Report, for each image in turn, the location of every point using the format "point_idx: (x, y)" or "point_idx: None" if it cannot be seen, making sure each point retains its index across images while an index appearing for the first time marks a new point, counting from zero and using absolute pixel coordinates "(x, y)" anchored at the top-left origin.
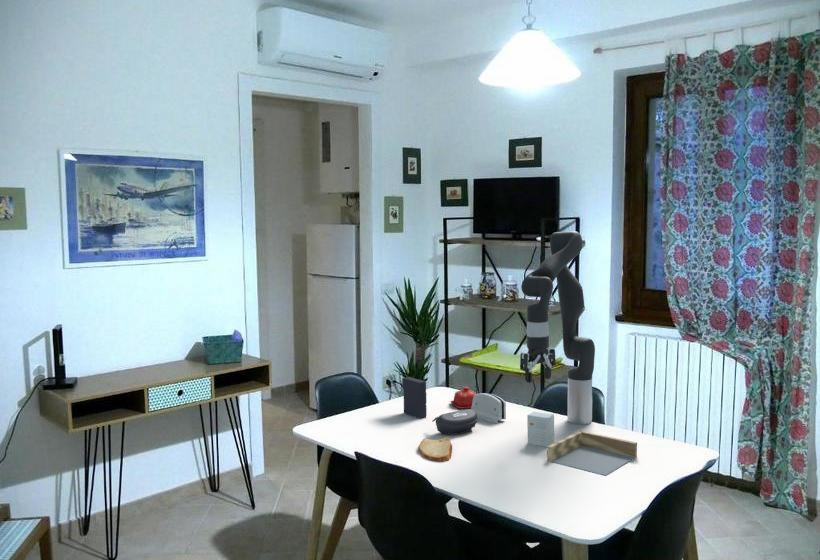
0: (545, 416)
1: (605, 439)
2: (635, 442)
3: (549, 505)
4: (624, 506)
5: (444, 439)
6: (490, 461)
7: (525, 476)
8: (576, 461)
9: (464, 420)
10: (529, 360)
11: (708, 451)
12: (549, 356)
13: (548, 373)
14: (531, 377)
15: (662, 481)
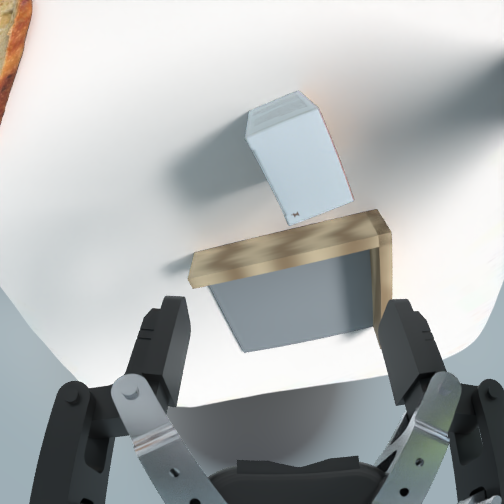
0: (298, 203)
1: (379, 298)
2: None
3: (94, 360)
4: (184, 398)
5: (12, 21)
6: (67, 183)
7: (102, 286)
8: (252, 291)
9: None
10: (180, 492)
11: (472, 342)
12: (483, 472)
13: (388, 366)
14: (180, 365)
15: (302, 385)
